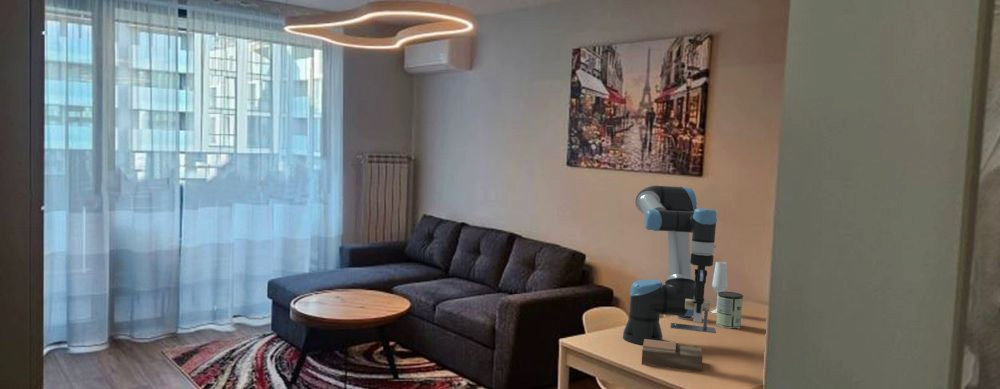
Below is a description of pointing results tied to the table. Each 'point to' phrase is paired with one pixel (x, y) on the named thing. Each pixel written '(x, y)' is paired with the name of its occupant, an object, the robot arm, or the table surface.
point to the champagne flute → (719, 279)
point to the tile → (659, 345)
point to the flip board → (675, 358)
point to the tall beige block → (704, 328)
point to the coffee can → (729, 309)
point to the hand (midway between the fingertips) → (697, 320)
